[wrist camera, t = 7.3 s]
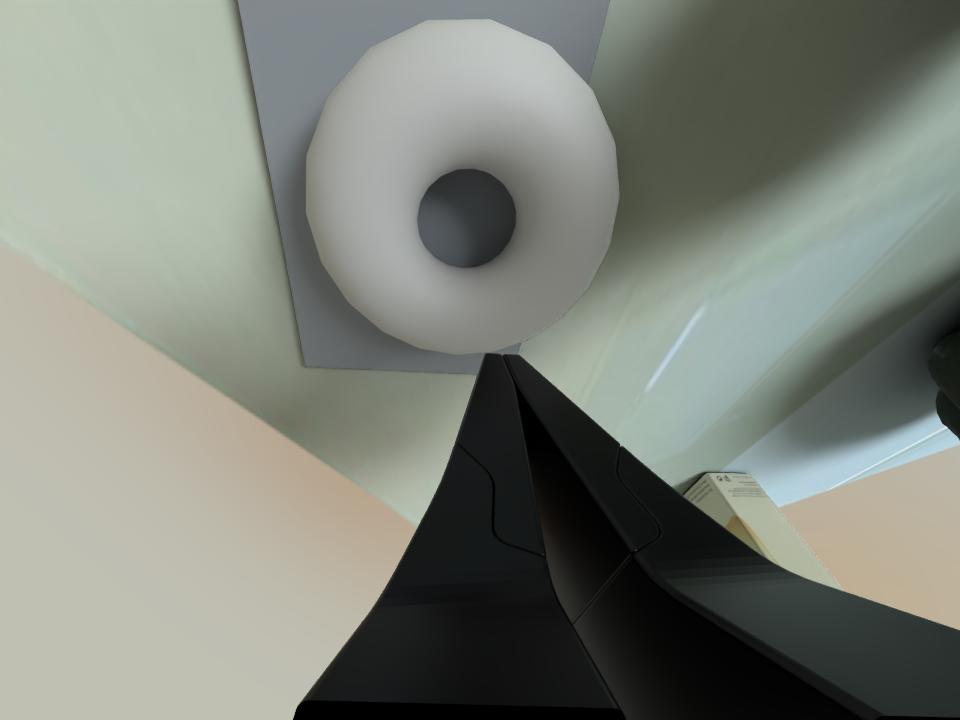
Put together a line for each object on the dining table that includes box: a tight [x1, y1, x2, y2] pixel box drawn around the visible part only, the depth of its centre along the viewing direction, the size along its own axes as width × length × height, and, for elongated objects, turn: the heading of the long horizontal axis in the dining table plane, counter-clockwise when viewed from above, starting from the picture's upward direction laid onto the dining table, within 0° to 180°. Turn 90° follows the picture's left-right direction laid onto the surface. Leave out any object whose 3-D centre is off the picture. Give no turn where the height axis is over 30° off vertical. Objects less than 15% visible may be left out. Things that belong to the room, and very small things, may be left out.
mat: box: [238, 0, 610, 374], centre depth 13 cm, size 10×14×1 cm
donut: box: [306, 19, 620, 355], centre depth 12 cm, size 10×4×10 cm
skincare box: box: [683, 473, 844, 591], centre depth 24 cm, size 6×4×12 cm
